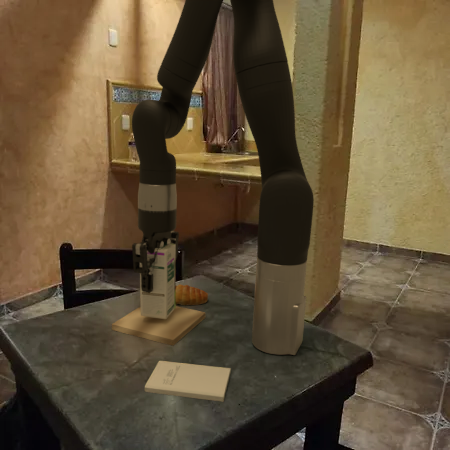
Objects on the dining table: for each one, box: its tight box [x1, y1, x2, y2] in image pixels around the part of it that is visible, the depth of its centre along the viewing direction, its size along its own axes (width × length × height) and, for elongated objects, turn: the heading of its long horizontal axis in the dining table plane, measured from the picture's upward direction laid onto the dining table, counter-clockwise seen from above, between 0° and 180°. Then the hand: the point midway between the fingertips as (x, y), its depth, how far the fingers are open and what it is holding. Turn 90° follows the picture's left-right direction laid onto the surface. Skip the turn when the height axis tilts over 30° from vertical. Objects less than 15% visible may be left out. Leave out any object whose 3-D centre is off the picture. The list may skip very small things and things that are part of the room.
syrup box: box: [139, 243, 177, 319], centre depth 89 cm, size 6×6×14 cm
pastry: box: [175, 284, 209, 306], centre depth 103 cm, size 9×7×4 cm
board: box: [111, 305, 207, 346], centre depth 91 cm, size 14×14×1 cm
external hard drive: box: [144, 360, 232, 403], centre depth 71 cm, size 2×8×12 cm
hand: (156, 285), depth 89 cm, fingers closed on syrup box, 6 cm apart
